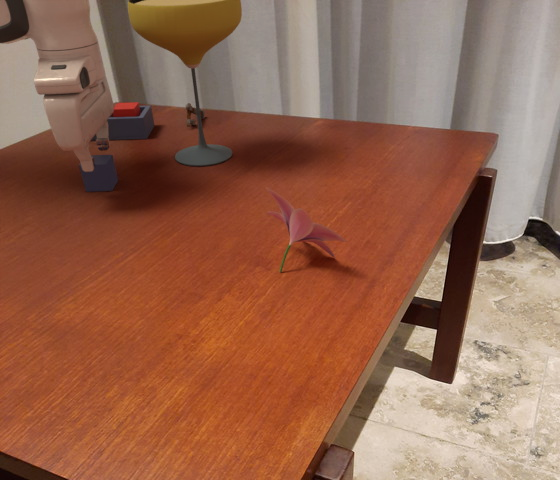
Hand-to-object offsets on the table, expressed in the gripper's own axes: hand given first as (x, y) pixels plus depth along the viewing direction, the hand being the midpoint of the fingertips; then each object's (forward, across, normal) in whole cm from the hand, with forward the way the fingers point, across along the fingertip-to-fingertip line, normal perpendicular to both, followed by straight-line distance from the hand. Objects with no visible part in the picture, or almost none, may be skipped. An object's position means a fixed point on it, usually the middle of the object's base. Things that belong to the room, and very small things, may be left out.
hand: (97, 159), depth 92 cm
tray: (+4, -28, -5) cm, 29 cm away
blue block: (+5, 0, 0) cm, 5 cm away
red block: (+4, -28, -2) cm, 28 cm away
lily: (+5, +27, +34) cm, 43 cm away
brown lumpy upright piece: (+5, -33, +12) cm, 35 cm away
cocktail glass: (+5, -13, +16) cm, 21 cm away
